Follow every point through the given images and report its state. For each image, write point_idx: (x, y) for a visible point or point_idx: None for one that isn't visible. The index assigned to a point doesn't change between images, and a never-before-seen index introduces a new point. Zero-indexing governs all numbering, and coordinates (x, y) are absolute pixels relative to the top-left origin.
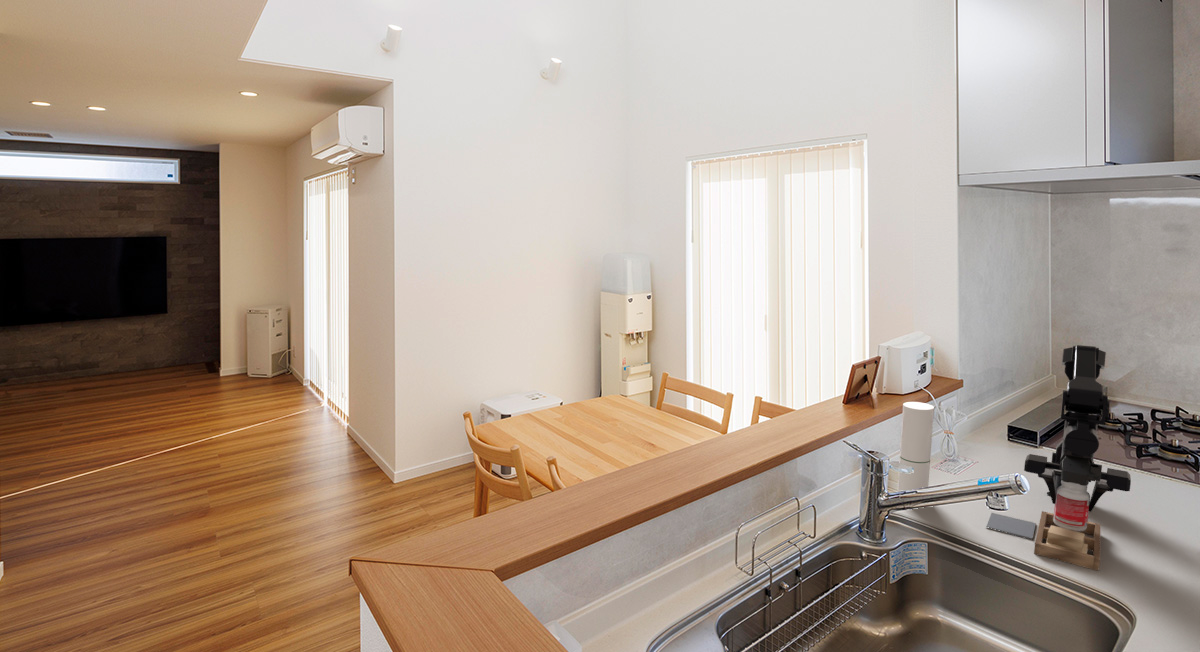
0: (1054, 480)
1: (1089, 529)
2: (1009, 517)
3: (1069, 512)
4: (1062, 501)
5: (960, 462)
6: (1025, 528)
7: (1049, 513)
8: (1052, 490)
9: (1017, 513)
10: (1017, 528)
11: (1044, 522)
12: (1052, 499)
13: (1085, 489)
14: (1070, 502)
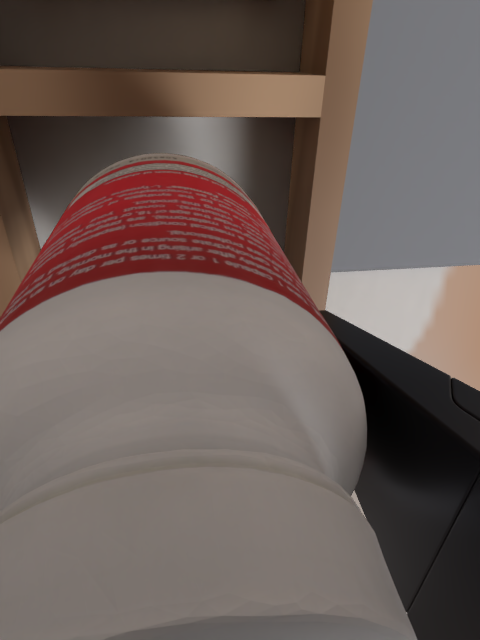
0: (471, 570)
1: None
2: (450, 257)
3: (173, 192)
4: (271, 261)
5: None
6: (392, 152)
7: None
8: (421, 385)
9: (392, 345)
10: (439, 118)
11: (313, 204)
12: (348, 326)
13: None
14: (178, 245)
